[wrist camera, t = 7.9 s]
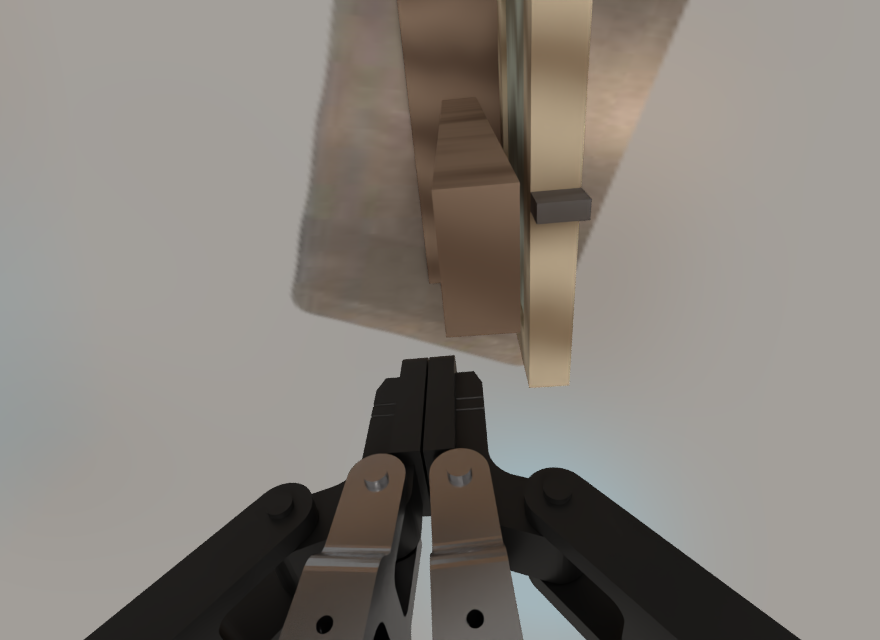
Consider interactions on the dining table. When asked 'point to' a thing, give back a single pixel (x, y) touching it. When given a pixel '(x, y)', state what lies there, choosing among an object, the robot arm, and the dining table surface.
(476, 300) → the stand
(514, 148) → the frame
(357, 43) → the dining table surface
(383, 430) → the robot arm
